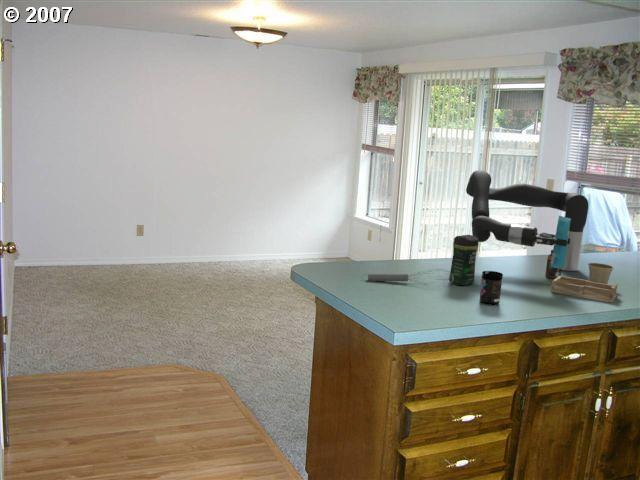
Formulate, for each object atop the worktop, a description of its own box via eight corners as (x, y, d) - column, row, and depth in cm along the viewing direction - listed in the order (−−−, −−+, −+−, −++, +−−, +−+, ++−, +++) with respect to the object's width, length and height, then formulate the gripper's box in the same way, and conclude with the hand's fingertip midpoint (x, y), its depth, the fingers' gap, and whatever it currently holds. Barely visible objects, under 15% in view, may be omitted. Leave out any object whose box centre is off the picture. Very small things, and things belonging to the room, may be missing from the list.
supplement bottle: (561, 279, 268) (565, 252, 266) (546, 278, 269) (549, 250, 267) (559, 276, 274) (562, 249, 272) (544, 275, 275) (547, 248, 273)
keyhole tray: (557, 285, 257) (559, 273, 256) (616, 295, 246) (618, 282, 245) (550, 291, 246) (552, 278, 245) (611, 302, 235) (613, 289, 234)
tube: (568, 269, 247) (576, 218, 243) (558, 269, 245) (566, 218, 242) (555, 264, 254) (563, 215, 250) (545, 264, 252) (552, 215, 249)
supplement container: (487, 299, 228) (490, 270, 226) (503, 304, 223) (507, 274, 221) (474, 301, 224) (478, 271, 222) (491, 306, 219) (495, 276, 217)
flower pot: (609, 286, 262) (613, 264, 260) (611, 291, 253) (615, 269, 252) (584, 282, 265) (587, 261, 263) (585, 287, 256) (588, 266, 255)
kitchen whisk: (361, 278, 248) (362, 262, 247) (451, 285, 247) (453, 269, 246) (361, 282, 242) (363, 265, 241) (454, 289, 241) (456, 272, 240)
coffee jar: (463, 287, 244) (468, 237, 241) (445, 282, 249) (450, 234, 246) (477, 284, 251) (482, 235, 247) (459, 279, 256) (464, 232, 253)
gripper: (526, 242, 261) (570, 249, 253) (516, 247, 249) (563, 254, 241) (528, 223, 260) (573, 230, 252) (519, 227, 248) (566, 234, 239)
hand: (568, 242), depth 246 cm, fingers closed on tube, 5 cm apart
